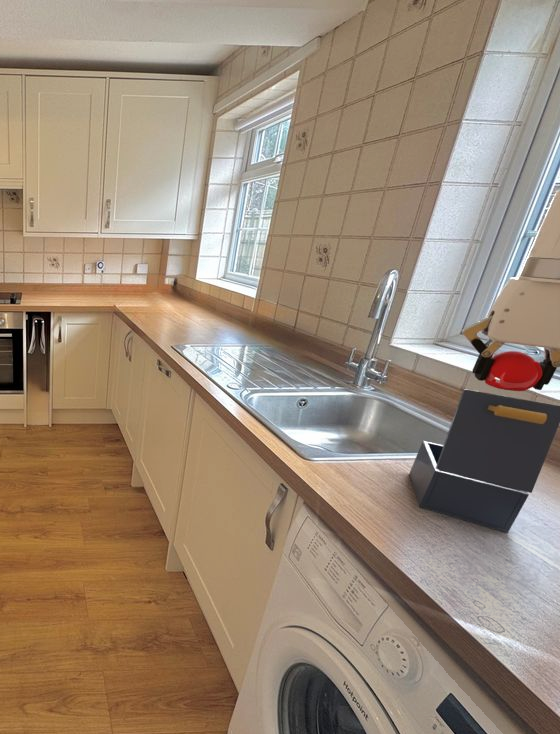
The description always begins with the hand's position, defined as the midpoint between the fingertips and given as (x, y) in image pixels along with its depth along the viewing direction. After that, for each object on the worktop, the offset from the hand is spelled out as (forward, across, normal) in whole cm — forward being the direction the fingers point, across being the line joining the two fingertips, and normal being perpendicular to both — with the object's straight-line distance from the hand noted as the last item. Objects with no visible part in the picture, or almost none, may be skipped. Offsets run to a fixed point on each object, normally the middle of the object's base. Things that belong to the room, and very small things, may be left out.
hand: (506, 381), depth 68 cm
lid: (+8, 0, +6) cm, 10 cm away
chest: (+23, 0, +1) cm, 23 cm away
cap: (+1, 0, 0) cm, 1 cm away
